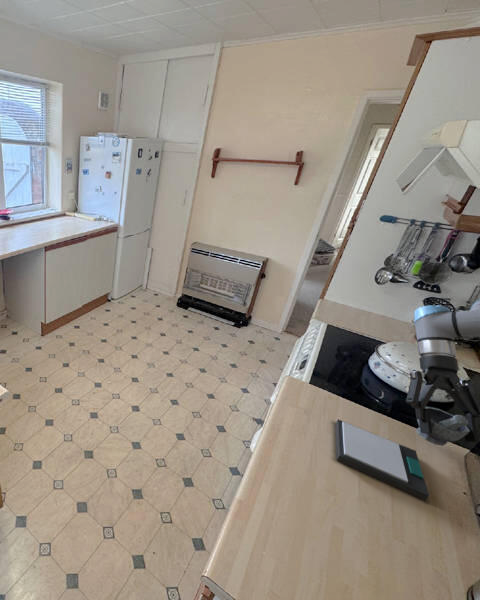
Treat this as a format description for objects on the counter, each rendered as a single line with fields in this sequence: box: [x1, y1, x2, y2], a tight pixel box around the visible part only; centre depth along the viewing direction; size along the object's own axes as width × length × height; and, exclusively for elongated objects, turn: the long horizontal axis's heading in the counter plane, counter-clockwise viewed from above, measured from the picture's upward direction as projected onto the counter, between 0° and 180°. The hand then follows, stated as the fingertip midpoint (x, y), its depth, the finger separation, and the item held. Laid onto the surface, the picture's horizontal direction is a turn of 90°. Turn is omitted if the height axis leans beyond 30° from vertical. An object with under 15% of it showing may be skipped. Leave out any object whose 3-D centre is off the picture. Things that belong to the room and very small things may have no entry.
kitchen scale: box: [334, 419, 430, 502], centre depth 88 cm, size 18×16×3 cm
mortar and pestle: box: [416, 405, 470, 447], centre depth 90 cm, size 11×9×12 cm
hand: (448, 437), depth 88 cm, fingers closed on mortar and pestle, 10 cm apart
